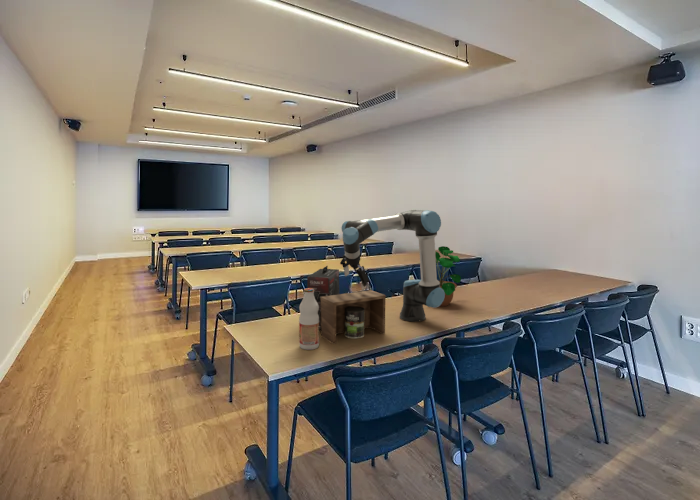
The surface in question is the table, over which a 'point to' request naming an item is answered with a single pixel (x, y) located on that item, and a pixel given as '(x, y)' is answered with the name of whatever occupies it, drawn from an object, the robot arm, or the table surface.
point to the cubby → (336, 306)
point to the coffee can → (354, 322)
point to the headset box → (323, 285)
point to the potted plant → (446, 262)
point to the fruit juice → (309, 321)
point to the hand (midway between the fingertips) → (355, 281)
